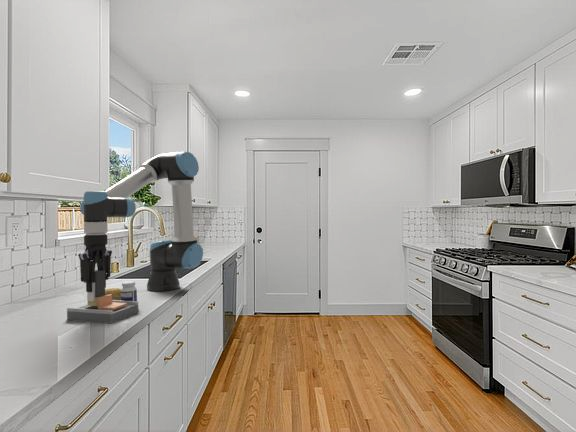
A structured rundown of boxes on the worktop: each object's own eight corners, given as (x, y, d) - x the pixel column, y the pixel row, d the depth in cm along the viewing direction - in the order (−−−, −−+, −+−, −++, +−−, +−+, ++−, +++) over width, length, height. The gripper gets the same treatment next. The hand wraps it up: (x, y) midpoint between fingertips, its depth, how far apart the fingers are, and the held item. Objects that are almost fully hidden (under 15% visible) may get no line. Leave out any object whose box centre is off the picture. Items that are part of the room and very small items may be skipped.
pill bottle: (130, 305, 148) (129, 280, 148) (140, 306, 146) (140, 281, 146) (117, 308, 143) (117, 282, 143) (127, 310, 141) (127, 284, 141)
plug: (96, 302, 136) (95, 270, 136) (105, 303, 135) (104, 270, 135) (87, 305, 132) (87, 271, 132) (96, 306, 131) (96, 272, 131)
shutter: (111, 304, 137) (110, 294, 137) (127, 305, 135) (126, 294, 135) (96, 309, 130) (96, 298, 130) (113, 310, 128) (112, 299, 128)
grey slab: (97, 309, 142) (97, 299, 142) (138, 312, 138) (138, 301, 138) (67, 319, 129) (67, 308, 129) (110, 323, 124) (110, 311, 124)
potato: (124, 304, 150) (124, 288, 150) (93, 307, 145) (93, 291, 145) (123, 300, 156) (122, 286, 156) (93, 304, 151) (93, 288, 151)
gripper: (104, 232, 143) (105, 294, 143) (67, 235, 127) (68, 304, 127) (121, 233, 141) (121, 294, 141) (85, 235, 125) (86, 305, 125)
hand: (96, 299), depth 134 cm, fingers closed on plug, 4 cm apart
